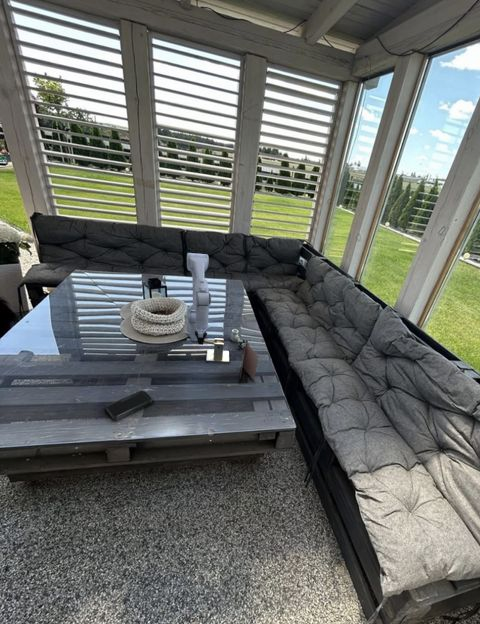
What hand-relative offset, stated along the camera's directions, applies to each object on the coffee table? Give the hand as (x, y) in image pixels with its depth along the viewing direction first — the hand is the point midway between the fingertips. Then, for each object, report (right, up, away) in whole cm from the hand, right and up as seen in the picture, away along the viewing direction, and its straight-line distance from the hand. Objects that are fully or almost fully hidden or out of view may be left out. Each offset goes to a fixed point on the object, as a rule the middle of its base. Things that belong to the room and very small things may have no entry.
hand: (200, 342), depth 138 cm
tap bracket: (+7, -8, +6) cm, 12 cm away
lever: (+4, -1, +1) cm, 4 cm away
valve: (+16, -1, +19) cm, 25 cm away
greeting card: (+22, -16, -2) cm, 28 cm away
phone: (-21, -25, -28) cm, 43 cm away
